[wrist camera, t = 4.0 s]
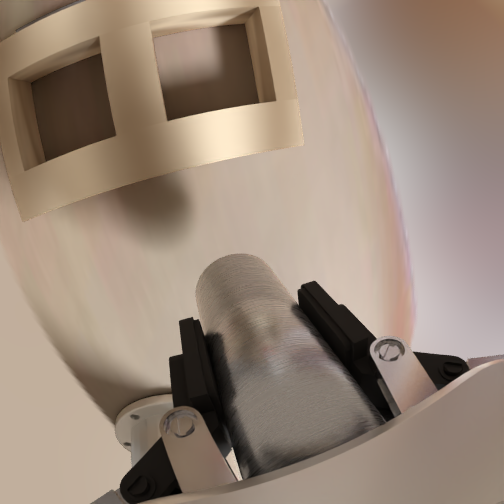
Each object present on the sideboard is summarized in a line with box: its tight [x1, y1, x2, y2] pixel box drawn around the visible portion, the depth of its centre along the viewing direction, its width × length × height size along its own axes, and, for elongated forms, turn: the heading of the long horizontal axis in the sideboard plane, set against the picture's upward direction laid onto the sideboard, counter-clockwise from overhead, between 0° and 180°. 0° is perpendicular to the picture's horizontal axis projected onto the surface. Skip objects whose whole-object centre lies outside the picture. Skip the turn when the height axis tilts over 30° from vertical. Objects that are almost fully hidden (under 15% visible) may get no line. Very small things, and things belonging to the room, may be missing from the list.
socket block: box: [0, 0, 304, 222], centre depth 12 cm, size 15×10×3 cm
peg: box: [196, 254, 386, 480], centre depth 10 cm, size 4×4×11 cm
